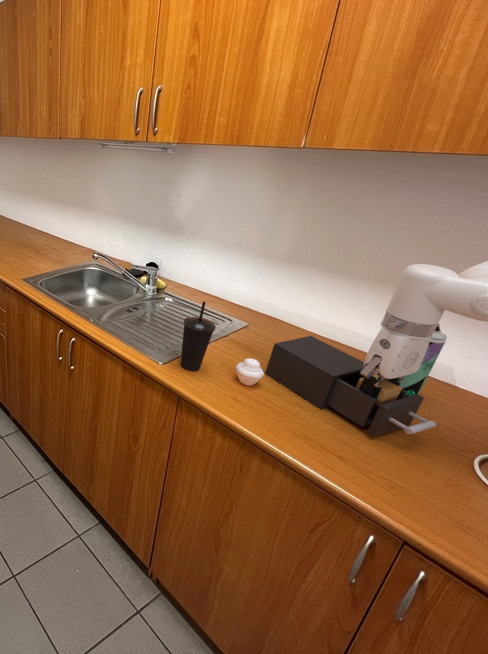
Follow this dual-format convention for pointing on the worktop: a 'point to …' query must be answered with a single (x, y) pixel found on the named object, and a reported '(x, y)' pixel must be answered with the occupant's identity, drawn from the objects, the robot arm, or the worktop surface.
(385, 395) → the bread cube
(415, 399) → the pull-out drawer
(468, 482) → the worktop surface
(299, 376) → the drawer box
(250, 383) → the muffin
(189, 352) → the drinking cup
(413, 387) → the spray can
